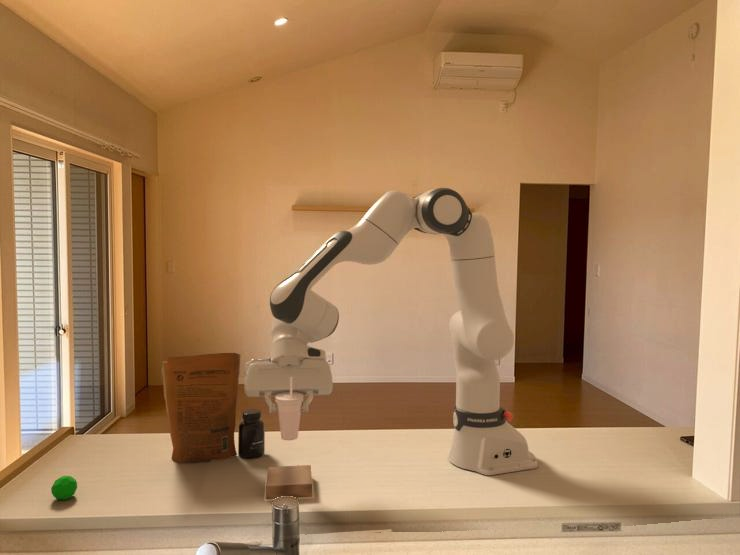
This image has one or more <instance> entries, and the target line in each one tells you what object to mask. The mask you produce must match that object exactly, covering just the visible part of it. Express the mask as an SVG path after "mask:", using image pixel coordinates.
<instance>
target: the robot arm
mask: <svg viewBox="0 0 740 555" xmlns="http://www.w3.org/2000/svg"><path fill="white" fill-rule="evenodd" d="M412 230H415V231H418V232H420V233H422V234H423V233H424V234H429V235H443V236H444V237H445V238H446V240H447V242H448V246H449V256H450V257H449V258H450V267H451V268H450V269H451V277H452V288H453V294H454V295H455V297H456V299H457V303H458V306H459V310H458V311H456V312H454V314H452V316H451V318H450V320H449V322H448V330H449V334H450V337H451V345H452V354H453V361H454V367H455V378H456V379H455V380H456V382H455V387H456V388H455V404H454V406H453V407H454V408H453V416H452V417H453V418H452V419H453V420H452V421H453V427H454V430H453V437H452V443H451V447H450V451H449V454H448V461H449V462H450V463H452V464H453V466H456V467H458V468H461V469H464V470H469V471H472V472H477V473H479V474H482V475H485V476H493V475H498V474H499V475H501V474H505V473H506V474H507V473H512V472H514V473H515V472H519V471H527V470H533V469H537V468H538V466H539V465H538V464H539V462H538V459H537V456H535V455H534V453H532V452H531V451H530V449H529V446H528V441H527V439H526V438H525V435H523V434H522V433H521V432H520V431H519V430H517V429H516V428H515V427H514V426H513V425H511V424H510V423H509V422H508V421H512V420H513V419H514V414H513V413H512V412H510V411H509V410H506V409H505V408H503V407H502V406H500V399H501V398H500V397H501V392H500V391H501V377H500V374H499V372H498V371H499V370H498V369H497V364H496V361H497V360H501V359H503V358H505V357H506V356H507V355H509V354H510V353H511V351H512V349H513V347H514V344H515V336H514V332H513V330H512V328H511V327H510V324H509V321H508V318H507V316H506V312H505V309H504V305H503V301H502V298H501V294H500V291H499V285H498V276H497V275H498V274H497V266H496V265H497V263H496V256H495V255H496V253H495V252H496V251H495V245H494V239H493V235H492V234H493V233H492V231H491V226H490V224H489V221H488V219H487V218H486V217H485V216H483V215H481V214H479V213H477V212H472V211H471V209H470V208H469V207H468V204H466V201H465V199H464V198H463V197H462V195H461V194H459V192H457V191H456V190H454V189H452V188H448V187H439V188H433V189H428V190H426V191H425V192H423V193H420V194H418V195H416V196H413V197H411V196H410V195H408V194H407V193H405V192H403V191H400V190H396V189H395V190H394V189H392V190H388V191H386V192H385V194H383V195H382V196H381V197H380V198H379V199H377V201H376V202H374V204H373V205H371V207H370V208H369V209H368V210H367V211H366V212H365V214H364V215H363V216H362V217H361V219H360V220H359V221H358V222H357V223H356V224H355V225H353V226H352V227H351V228H349V229H347V230H339V231H338V232H336V233H334V234H333V235H331V236H330V237H329V238H328V239H327V240H326V241H325V242H324V243H323V244H322V245H320V246H319V247H318V248H317V249H316V250H315V251H314V252H313V254H311V255H310V256H309V257H308V258H307V259H306V260H305V261H304V262H303V263H302V264H301V265H300V266H299V267H298V268H297V269H295V271H293V273H291V274H290V275H289V276H287V277H286V278H285V279H283V280H282V281H281V282H280V283H278V284H277V285H276V286H275V287H274V288H273V290H272V291H271V292H270V296H269V308H270V312H271V315H272V319H271V338H272V343H271V345H270V358H261V359H258V358H253V359H251V360H250V361H248V362H246V363H245V365H244V374H245V375H246V376H245V379H244V394H245V395H246V396H247V397H248V398H261V397H262V398H263V397H264V401H265V403H266V404H267V405H268V407H269V408H268V409H269V411H268V412H269V414H276V413H277V402H273V401H272V397H275V396H276V395H277V394H280V393H284V392H290V377H293V392H297V393H301V394H303V396H306V400H305V401H302V407H301V413H308V412H309V406H310V404H311V402H312V401H313V399H314V396H326V395H327V396H328V395H330V394H331V393H332V391H333V387H334V386H333V385H334V383H333V375H332V370H331V366H330V364H329V363H328V361H327V355H326V351H325V350H324V349H321V348H316V347H312V346H309V345H308V344H309V343H315V342H318V341H321V340H323V339H326V338H328V337H330V336H331V335H332V334H333V333H334V332H335V331H336V329H337V328H338V325H339V321H340V319H339V318H340V312H339V309H338V307H336V305H334V304H333V303H331V302H330V301H329V300H327V299H326V298H324V297H323V296H321V295H319V294H318V293H317V292H315V291H313V290H312V288H313V287H314V286H315V285H316V284H317V283H318V282H319V281H320V280H321V279H322V278H323V277H324V276H325V275H326V274H327V273H328V272H329V271H330V270H331V269H332V268H333V267H335V265H337V264H339V263H344V262H352V263H358V264H361V265H366V266H367V265H377V264H381V263H383V262H385V260H387V259H388V258H390V256H391V255H392V254H393V253H394V251H395V250H396V249H397V247H398V246H399V245H400V243H401V242H402V241H403V239H404V238H405V236H406V235H407V234H408V233H410V232H411V231H412Z"/></svg>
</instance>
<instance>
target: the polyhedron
mask: <svg viewBox="0 0 740 555" xmlns="http://www.w3.org/2000/svg"><path fill="white" fill-rule="evenodd" d="M77 489H78V482H77V479H75V478H74V477H73V476H70V475H62V476H60V477H59V478H57V479H55V480H54V482H53V484H52V486H51V489H50V490H51V495H52V497H54V498H55V499H56V500H59V501H66V500H68V499H70V498H71V497H73V496H74V495H75V493H76V491H77Z"/></svg>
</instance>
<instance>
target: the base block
mask: <svg viewBox="0 0 740 555" xmlns="http://www.w3.org/2000/svg"><path fill="white" fill-rule="evenodd" d="M266 472H267V473H266V474H267V476H266V479H267V481H266V480H265V484H266V499H275V498H277V497H281V496H293V497H296V498H301V497H312V477H311V476H312V465H310V464H306V465H305V464H304V465H303V464H302V465H287V466H286V465H285V466H284V465H283V466H268V467H267V471H266Z"/></svg>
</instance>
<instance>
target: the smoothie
mask: <svg viewBox="0 0 740 555" xmlns="http://www.w3.org/2000/svg"><path fill="white" fill-rule="evenodd" d="M274 398H275V400H274V401H275V403H276V410H277V415H278V416H277V417H278V422H279V431H280V437H281V438H280V439H281V440H283V441H294V440H298V438H299V431H300V430H299V429H300V421H301V413H302V402H304V395H303V394H301V393H297V392H293V377H290V392H284V393H280V394H277V395H276V396H274Z"/></svg>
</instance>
